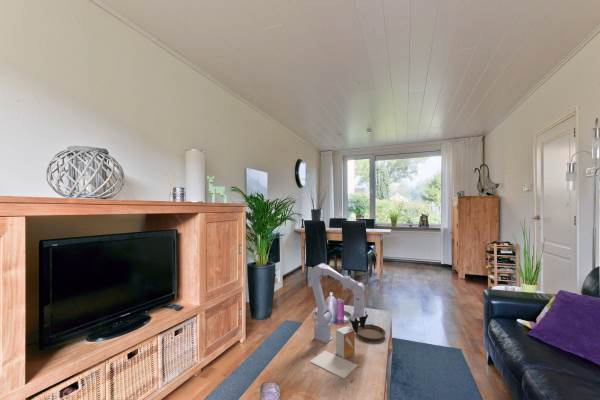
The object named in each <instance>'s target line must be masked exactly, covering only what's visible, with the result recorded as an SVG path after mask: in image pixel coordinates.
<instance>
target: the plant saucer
mask: <svg viewBox="0 0 600 400" xmlns="http://www.w3.org/2000/svg"><path fill="white" fill-rule="evenodd" d="M386 333H387V332H386V330H385V329H384V328H383V327H381V326H378V325H375V324H370V323H365V326H364V328H362V327H360V324H359V326H358V332H357V333H356V334H357V335H358V336H359V338H361V339H363V340H366V341H369V342H378V341H381V340H382V339H384V337H385V336H386Z"/></svg>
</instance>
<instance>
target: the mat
mask: <svg viewBox="0 0 600 400" xmlns="http://www.w3.org/2000/svg"><path fill="white" fill-rule="evenodd" d="M309 362H310V363H311V364H313V365H315V366H317V367H319V368H321V369H323V370H325V371H327V372H329V373H331V374H333V375H336V376H338V377H339V378H341V379H343V380H344V379H346V378H347V376H348V375H350V374H351V373H352V372H353V371H354V370H355V369H356V368H357V367H358V364H356V363H354V362H351V361H350V360H347V359H346V358H345V359H343V358H342V357H340V356H339V355H337V354H334V353H331V352H329V351H326V350H323V351H322V352H321V353H319V354H318V355H316V356H315V357H314V358H313V359H311V360H310V361H309Z"/></svg>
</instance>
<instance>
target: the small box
mask: <svg viewBox="0 0 600 400" xmlns="http://www.w3.org/2000/svg"><path fill="white" fill-rule="evenodd" d="M355 333H356V332H355V330H353V328H352V327H349V326H348V325H346V326H343V327H340V328H336V330H335V342H336V343H335V355H336V356H338V357H341V358H343V359H345V360H346V359H347V358H349V357H351V356H354V355H355V354H356V353H355V352H356V350H355V346H356V343H355V340H356V339H355V338H356V337H355V336H356V335H355Z"/></svg>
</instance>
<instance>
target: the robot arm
mask: <svg viewBox="0 0 600 400" xmlns="http://www.w3.org/2000/svg"><path fill="white" fill-rule="evenodd" d="M324 276H329V277H332V278H334V279H335V280H337V281H340V283H341V285H342V286H344V287H345V288H347V289H348V290H350V291H352V294H353V312H352V314H351V316H350V318H349V321H350V324H351V328H352V329H353V330H355V333H356V334H358V333H357V332H358V326H359V325H360V327H362V328H364V326H365V324H366V322H367V319H368V317H369V314H367V312H368V311H367V309H366V308H365V291H366V285H365V284H364V283H363V282H361V281H360V282H358V280H354V279H353V278H351V276H350V275H345V276H344V275H343V274H341V273H339V272H338V271H336V270H335V269H333V268H332V267H331V266H329V265H328V264H326V263H324V262H320V264H317V265H315V266H314V267H312V269H311V274H310V283H311V287H312V291H313V296H314V299H315V303H316V308H317V310H316V322H314V323H315V324H314V326H313V330H314V331H313V332H314V333H313V334H314V335H313V339H315V340H317V341H319V342H322V343H324V344H327V343H329V342H330V341H331V340H333V339H334V337H333V336H331V335H332V333H331V328H332V327H331V320H332V317H333V314H332V312H331V311H330V308H329V306H327V304H326V299H325V296H324V291H323V288H322V283H321V278H322V277H324ZM358 319H359V320H358Z"/></svg>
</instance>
